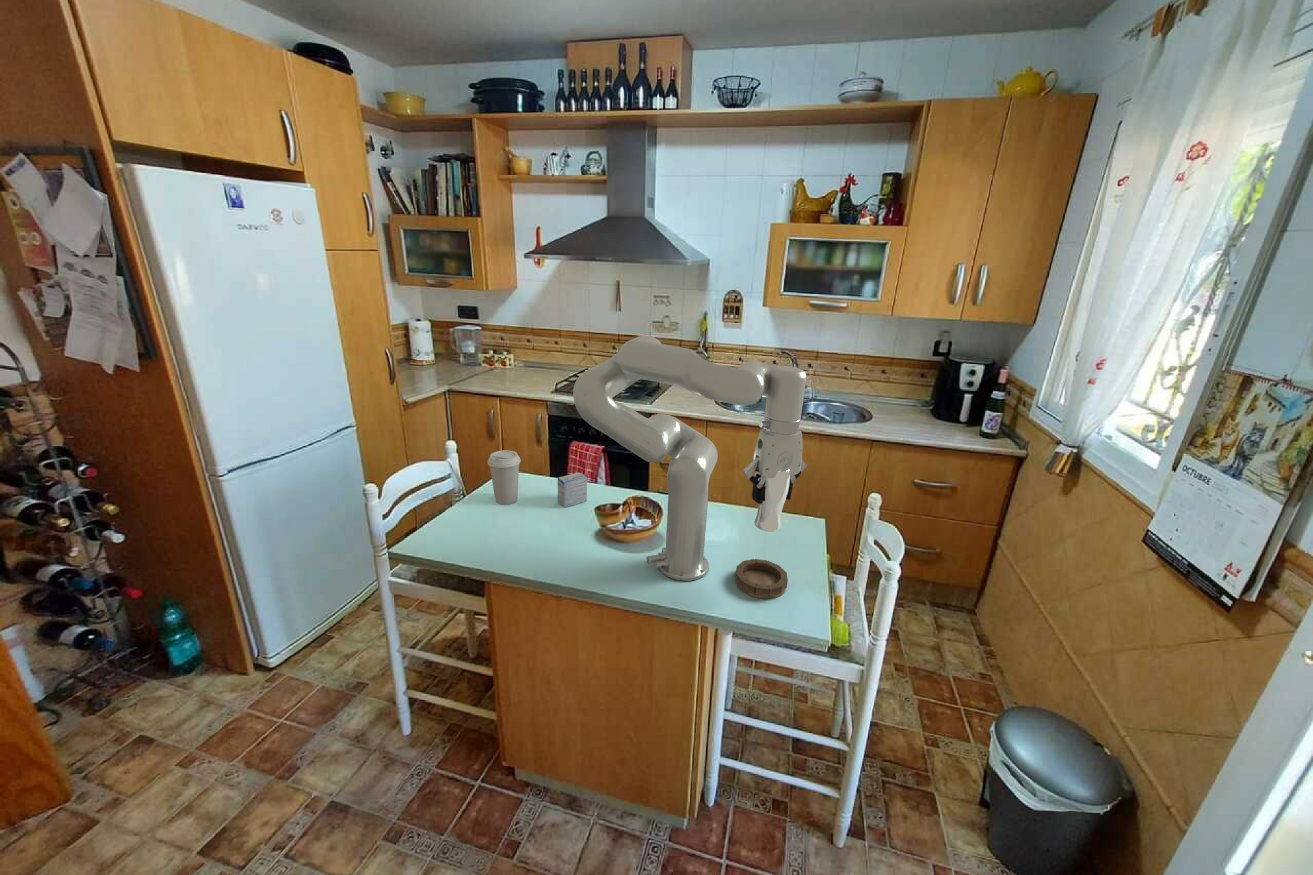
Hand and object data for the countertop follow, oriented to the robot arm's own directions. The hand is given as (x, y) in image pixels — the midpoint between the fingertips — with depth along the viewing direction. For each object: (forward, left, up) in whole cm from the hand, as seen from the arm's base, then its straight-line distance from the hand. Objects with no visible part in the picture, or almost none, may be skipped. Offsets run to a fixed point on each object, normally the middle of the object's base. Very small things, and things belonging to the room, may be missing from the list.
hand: (771, 498), depth 117 cm
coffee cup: (-53, +61, -23) cm, 84 cm away
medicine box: (-34, +54, -23) cm, 68 cm away
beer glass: (0, 0, -7) cm, 7 cm away
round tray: (0, 0, -23) cm, 23 cm away
